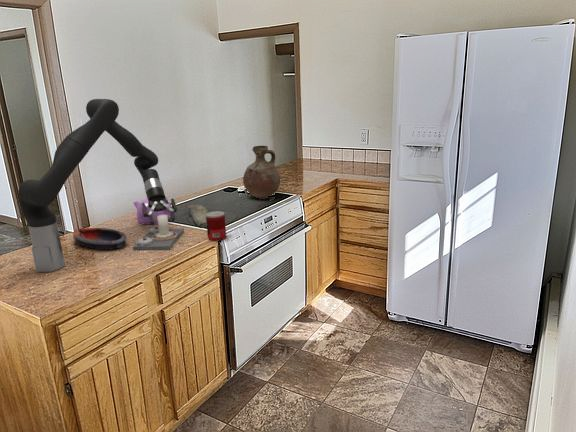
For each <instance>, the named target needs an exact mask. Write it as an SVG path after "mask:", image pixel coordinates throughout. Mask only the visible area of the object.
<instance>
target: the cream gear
mask: <svg viewBox="0 0 576 432" xmlns="http://www.w3.org/2000/svg"><path fill="white" fill-rule="evenodd" d="M157 219H158V224H157V226H158V227H159V233H158V234H155V237H156V239H167V238H171V237H174V233H173V232H172V231H171V232H169V229H170V227H169V219H168V217H167V215H159V216H157Z"/></svg>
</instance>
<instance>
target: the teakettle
mask: <svg viewBox="0 0 576 432" xmlns="http://www.w3.org/2000/svg"><path fill="white" fill-rule="evenodd" d="M166 199H167V200H169V199H168V197H166ZM143 202H144V203H148V199H147V198H146V199H142V200H141V201H139V202H138V201H134V202H133V205H134V207H135V208H136V219H137V220H136V221H137V223H138V224H140V223H144V224H143V225H150V224H151V223H150V221H149V218H148V217H144V216H143V211H142V203H143ZM167 205H169V206H170V208H172V205H170V204H169V203H168V204H167ZM150 209H151V208H150V207H149V206H147V208H146V212H147V213H149V212H150ZM159 215H167V217H168V220H170V219H171V216H170V213H169V212H166V211H165V210H163V211H158V212H156V211H154V213H153V214H152V216H153V220H154V224H157V225H158V219H157V216H159Z"/></svg>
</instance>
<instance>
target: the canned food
mask: <svg viewBox="0 0 576 432" xmlns="http://www.w3.org/2000/svg"><path fill="white" fill-rule="evenodd" d="M208 212H209V211H208ZM206 222H207V227H206V230H207V239H208V240H210V241H222V240H225V239H226V237H227V227H226V215H225V212H224V211H220V210H217V211H211V212H209V213H207V214H206Z"/></svg>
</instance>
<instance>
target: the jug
mask: <svg viewBox="0 0 576 432" xmlns="http://www.w3.org/2000/svg"><path fill="white" fill-rule="evenodd" d="M251 151H253V153H254V154H255V155H254V156H255V161H254V162H253V163H251V164H249V165H248V166H247V167H246V169H245V171H244V175H243V178H242V183H243V186H244V188H245V190H246V191H247V192H248V194H249V195H251V196H252V197H254V198H255V197H256V198H265V197H268V196H270V195H271V196H273V195H274V194H275V193H276V192H277V191H278V189H279V188H280V186H281V185H280V184H281V176H280V172H279V171H278V168H277V167H276V165H275V163H276V154H275V151H274V150H272V149H269V146H267V145H254V146H253V147H252V149H251ZM266 154H270V155H271V158H270V161H267V160H266V158H265V157H266V156H265V155H266ZM272 194H273V195H272ZM256 198H255V199H256Z"/></svg>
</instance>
